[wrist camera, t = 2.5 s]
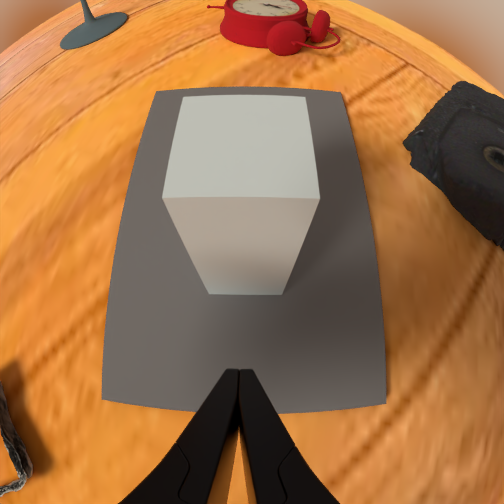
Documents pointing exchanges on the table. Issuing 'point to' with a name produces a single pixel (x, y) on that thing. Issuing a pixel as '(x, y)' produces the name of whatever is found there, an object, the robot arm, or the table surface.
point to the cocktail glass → (92, 28)
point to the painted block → (242, 189)
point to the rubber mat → (247, 306)
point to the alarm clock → (273, 25)
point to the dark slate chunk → (465, 155)
